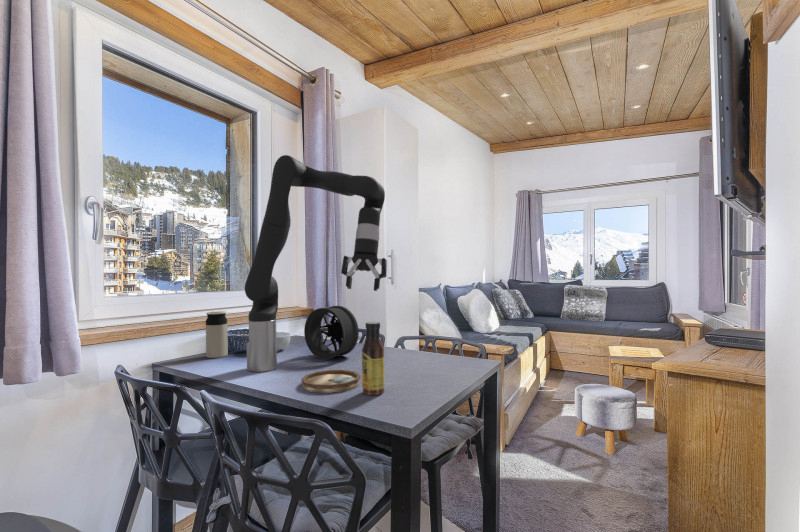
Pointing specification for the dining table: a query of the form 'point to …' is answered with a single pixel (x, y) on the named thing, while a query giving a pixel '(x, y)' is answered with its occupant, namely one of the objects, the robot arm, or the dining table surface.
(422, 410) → the dining table surface
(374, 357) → the sauce bottle
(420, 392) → the dining table surface
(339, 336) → the wheel rim
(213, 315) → the travel mug
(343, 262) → the robot arm
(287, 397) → the dining table surface
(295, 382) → the dining table surface
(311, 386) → the brown round tray
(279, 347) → the cereal bowl
